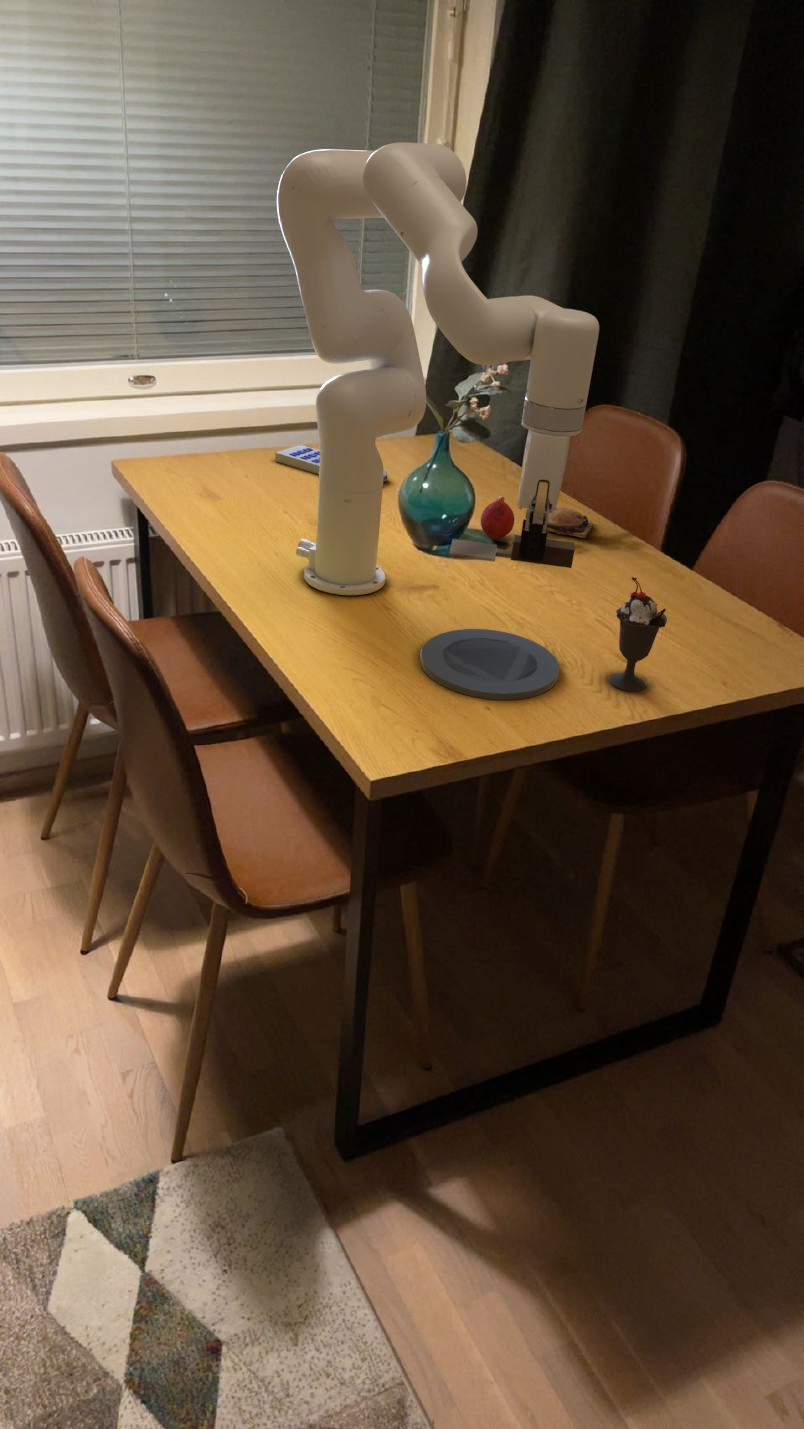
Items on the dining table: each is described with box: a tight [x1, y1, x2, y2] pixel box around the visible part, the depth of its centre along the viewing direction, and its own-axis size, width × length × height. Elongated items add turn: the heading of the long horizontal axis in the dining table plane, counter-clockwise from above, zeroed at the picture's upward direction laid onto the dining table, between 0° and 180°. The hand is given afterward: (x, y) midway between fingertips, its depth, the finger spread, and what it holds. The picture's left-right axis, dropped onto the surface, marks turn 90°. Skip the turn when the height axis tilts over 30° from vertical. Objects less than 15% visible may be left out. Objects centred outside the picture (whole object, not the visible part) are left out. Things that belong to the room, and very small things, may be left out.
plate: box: [419, 628, 560, 701], centre depth 153 cm, size 19×19×1 cm
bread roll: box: [547, 506, 594, 539], centre depth 203 cm, size 11×8×4 cm
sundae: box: [608, 576, 668, 692], centre depth 149 cm, size 7×7×15 cm
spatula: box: [448, 534, 575, 569], centre depth 148 cm, size 16×5×3 cm, turn 83°
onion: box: [480, 495, 515, 542], centre depth 193 cm, size 6×6×8 cm
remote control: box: [274, 444, 389, 483], centre depth 220 cm, size 8×23×2 cm, turn 56°
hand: (530, 553), depth 148 cm, fingers closed on spatula, 2 cm apart
